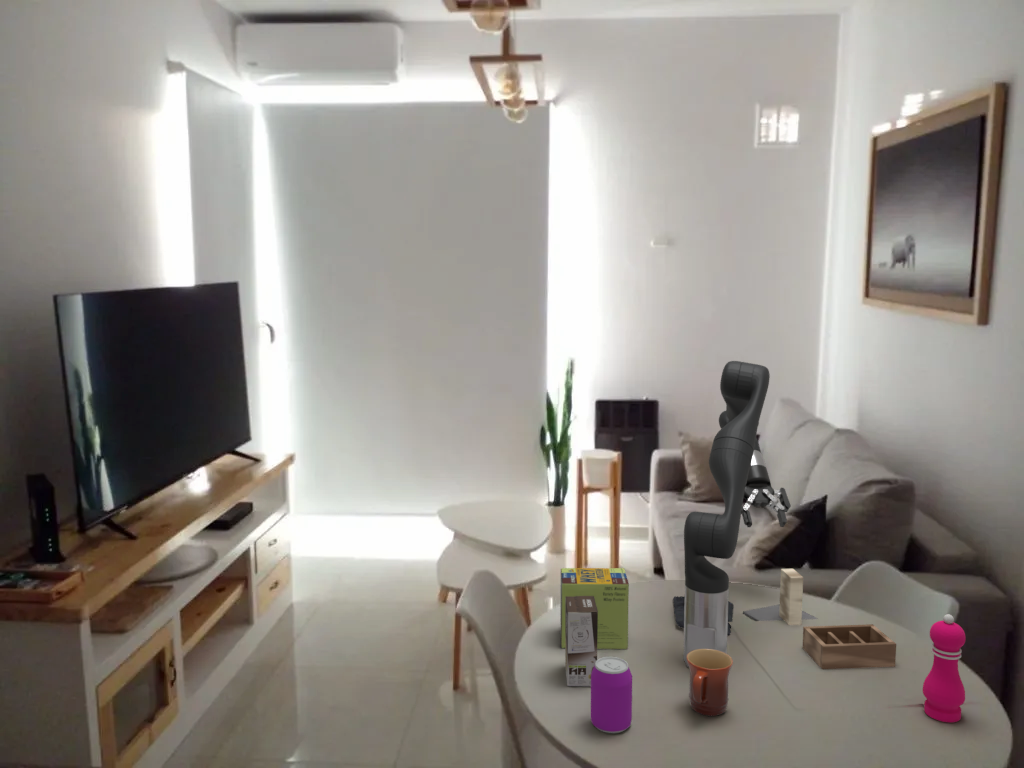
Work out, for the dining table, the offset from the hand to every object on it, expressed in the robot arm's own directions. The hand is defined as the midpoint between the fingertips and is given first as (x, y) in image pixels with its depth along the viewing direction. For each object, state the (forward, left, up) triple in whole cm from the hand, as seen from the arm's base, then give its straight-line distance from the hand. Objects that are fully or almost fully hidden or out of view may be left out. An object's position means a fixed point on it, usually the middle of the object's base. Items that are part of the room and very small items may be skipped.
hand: (766, 525), depth 204 cm
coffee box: (-54, +29, -22) cm, 65 cm away
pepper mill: (-38, -39, -22) cm, 59 cm away
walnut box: (-22, -21, -21) cm, 38 cm away
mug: (-57, +2, -22) cm, 61 cm away
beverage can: (-69, +17, -22) cm, 75 cm away
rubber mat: (-7, -7, -21) cm, 24 cm away
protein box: (-36, +33, -22) cm, 53 cm away
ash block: (-7, -7, -21) cm, 23 cm away
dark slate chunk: (-12, +13, -22) cm, 28 cm away
